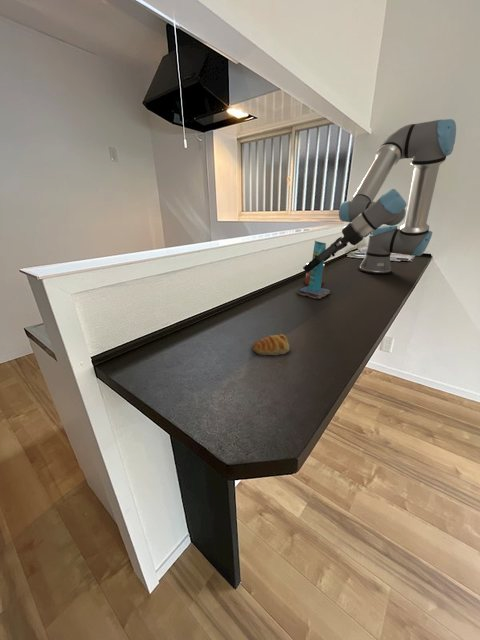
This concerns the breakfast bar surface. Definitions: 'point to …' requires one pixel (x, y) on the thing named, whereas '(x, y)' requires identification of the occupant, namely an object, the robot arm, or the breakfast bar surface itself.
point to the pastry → (272, 345)
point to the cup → (309, 276)
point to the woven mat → (313, 292)
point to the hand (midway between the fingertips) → (311, 266)
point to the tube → (317, 268)
